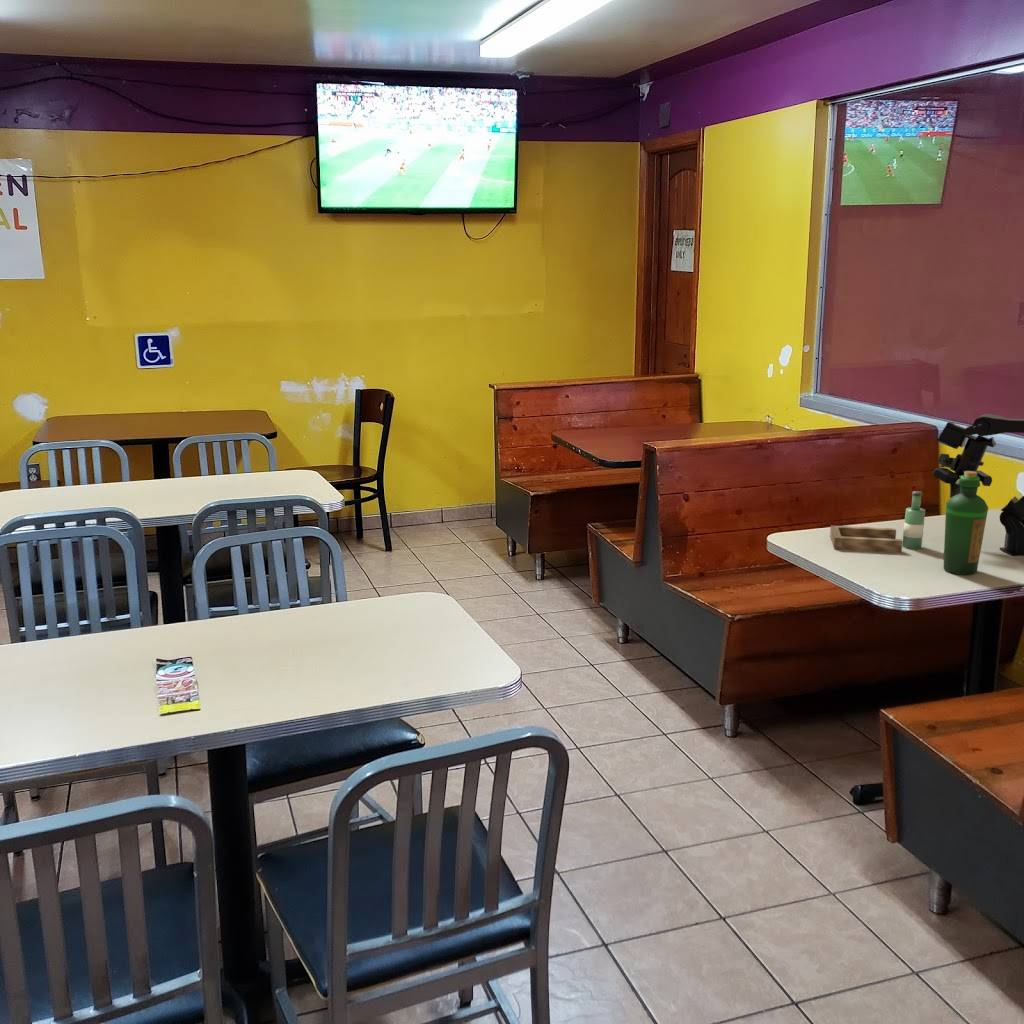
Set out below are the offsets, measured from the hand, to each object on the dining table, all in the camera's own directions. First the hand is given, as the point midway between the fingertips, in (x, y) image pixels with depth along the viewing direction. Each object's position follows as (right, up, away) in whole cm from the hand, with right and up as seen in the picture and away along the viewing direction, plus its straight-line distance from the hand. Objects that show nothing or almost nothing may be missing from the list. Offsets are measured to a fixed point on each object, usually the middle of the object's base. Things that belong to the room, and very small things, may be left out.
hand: (951, 502), depth 308 cm
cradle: (-26, -13, +1) cm, 29 cm away
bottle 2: (-8, -19, -25) cm, 33 cm away
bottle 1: (-13, -13, -2) cm, 19 cm away
